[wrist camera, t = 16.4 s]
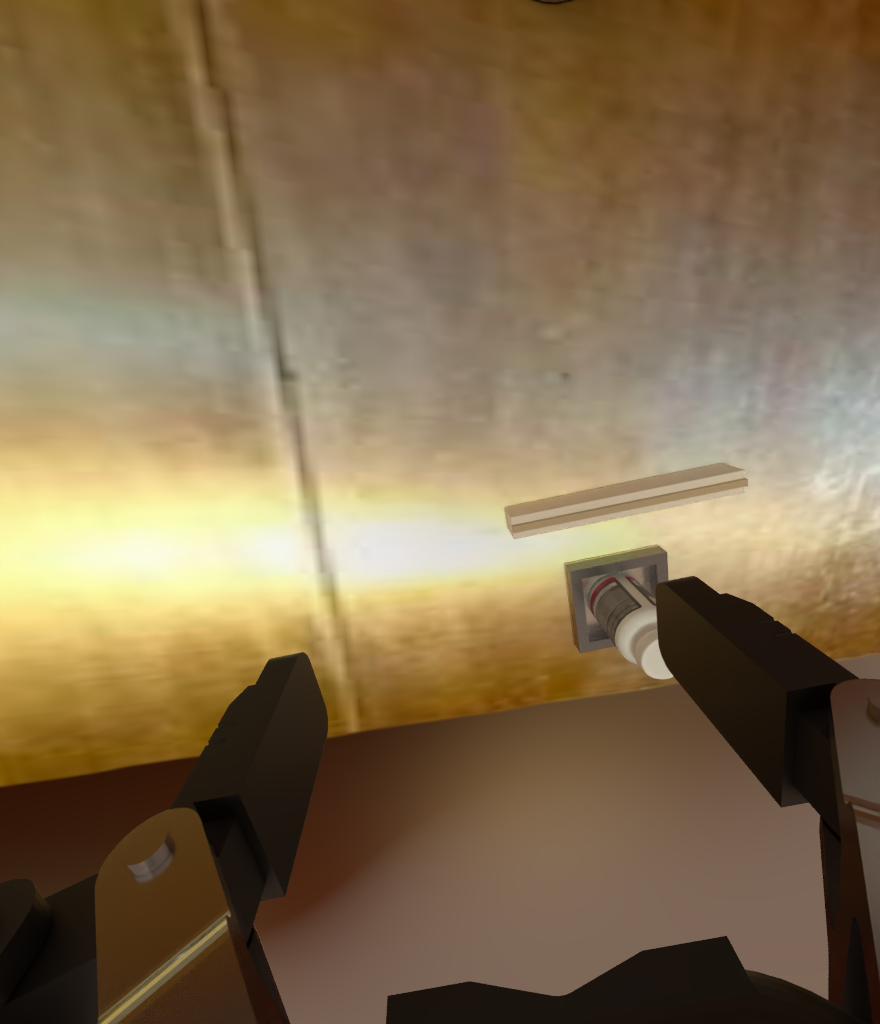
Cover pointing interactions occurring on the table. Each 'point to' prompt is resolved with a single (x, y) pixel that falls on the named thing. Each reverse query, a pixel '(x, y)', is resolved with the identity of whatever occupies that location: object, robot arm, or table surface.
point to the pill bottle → (629, 621)
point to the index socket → (586, 573)
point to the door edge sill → (625, 499)
